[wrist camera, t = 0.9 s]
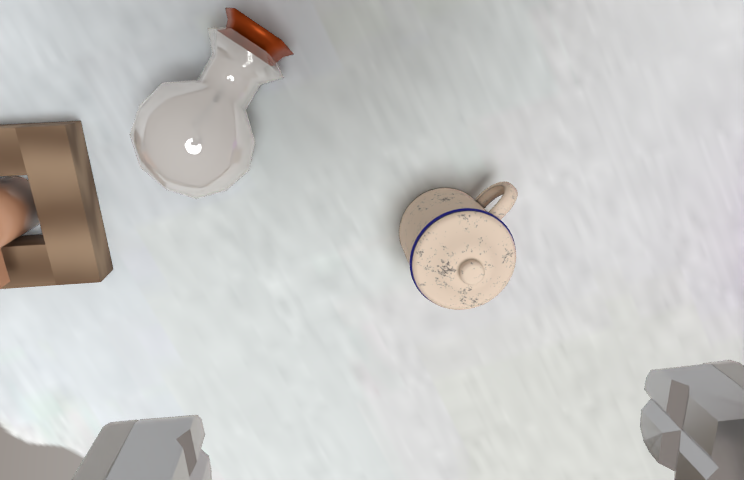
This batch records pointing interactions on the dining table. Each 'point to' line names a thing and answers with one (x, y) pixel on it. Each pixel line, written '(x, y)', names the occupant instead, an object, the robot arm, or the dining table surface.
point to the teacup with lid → (459, 245)
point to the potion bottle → (208, 113)
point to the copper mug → (15, 214)
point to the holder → (55, 207)
